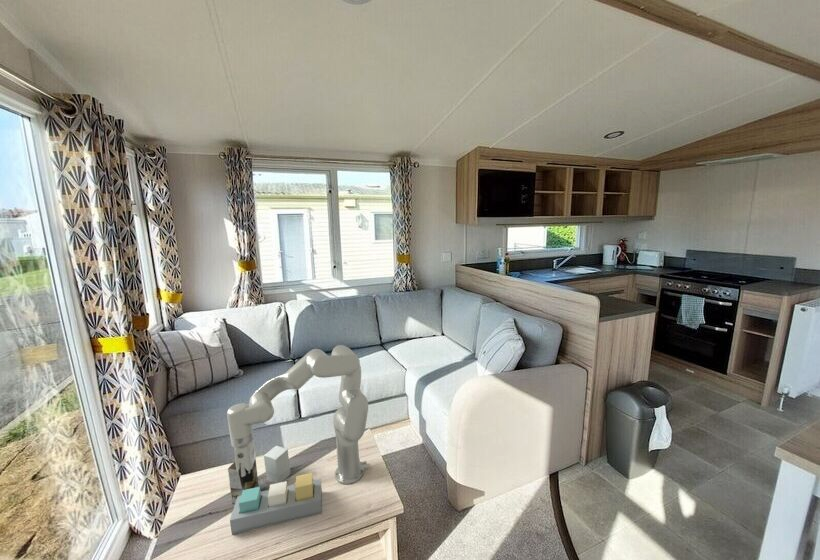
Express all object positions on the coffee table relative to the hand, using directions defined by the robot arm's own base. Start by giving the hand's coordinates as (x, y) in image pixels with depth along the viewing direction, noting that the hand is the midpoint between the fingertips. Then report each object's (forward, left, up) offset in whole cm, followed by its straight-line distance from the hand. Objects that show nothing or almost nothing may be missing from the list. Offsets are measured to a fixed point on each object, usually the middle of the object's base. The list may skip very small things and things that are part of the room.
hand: (248, 480), depth 124 cm
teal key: (0, 0, -13) cm, 13 cm away
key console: (-10, 0, -17) cm, 19 cm away
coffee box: (+5, -12, -17) cm, 22 cm away
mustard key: (-20, 0, -12) cm, 23 cm away
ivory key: (-10, 0, -13) cm, 16 cm away
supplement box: (-7, -19, -17) cm, 27 cm away
